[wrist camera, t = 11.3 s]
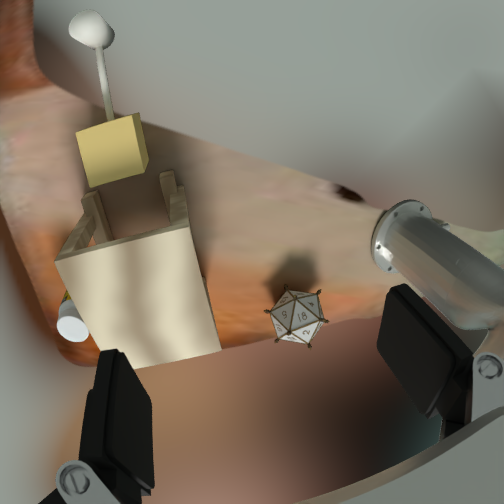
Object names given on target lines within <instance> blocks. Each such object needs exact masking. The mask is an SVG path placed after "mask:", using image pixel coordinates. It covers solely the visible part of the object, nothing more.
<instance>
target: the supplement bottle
mask: <svg viewBox="0 0 504 504" xmlns="http://www.w3.org/2000/svg"><path fill="white" fill-rule="evenodd" d="M57 328H58V331H59V333H60V334H61V335H62V336H63V337H64V338H66V339H67V340H70V341H73V342H81V341H84V340H85V339H86V338H87V337H88V335H89V330H88V328H87V327H86V325H85V323H84V321H83V319H82V317H81V316H80V314H79V312H78V310H77V308H76V306H75V304H74V302H73V300H72V299H71V297H70V295H69V293H68V291H67V290H66V292H65V295H64V297H63V300H62V303H61V305H60V308H59V318H58V322H57Z"/></svg>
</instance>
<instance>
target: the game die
mask: <svg viewBox="0 0 504 504" xmlns="http://www.w3.org/2000/svg"><path fill="white" fill-rule="evenodd" d="M284 288H285V290H286V292H285V293H284V294H283V295H282V297H281V298H280V299H279V300H278V302H277V303H276V304H275V305H274V307H273V308H272V309H271V310H270V311H269V310H267V309H266V310H264V312H265V313H267V314H268V313H270V316H271V319H272V322H273V325H274V328H275V331H276V334H277V337H278V338H277V339H276V340H275V343H277V342H278V341H279V340H286V341H291V342H297V343H303V344H307V345H308V348H310V349H311V347H312V346H311V345H310V342H311V340H312V339H313V338H314V336H315V335H316V333H317V332H318V330H319V329H320V327H321V326H322V324H323V323H324V322H325V323H328V322H329V321H328V320H325V319H324V316H323V312H322V309H321V305H320V301H319V297H318V294H320V293H321V289H320V290H318V291H317V293H308V292H301V291H293V290H288V286H286V285H285V286H284Z"/></svg>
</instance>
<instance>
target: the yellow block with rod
mask: <svg viewBox="0 0 504 504" xmlns="http://www.w3.org/2000/svg"><path fill="white" fill-rule="evenodd" d="M69 33H70V35H71V37H73V38H74V39H76V40H78V41H79V42H81V43H83V44H85V45H86V46H88V47H90V48H92V49H93V50H95V52H96V60H97V66H98V73H99V78H100V85H101V90H102V96H103V101H104V106H105V112H106V116H107V122H104V123H101V124H98V125H95V126H92V127H89V128H86V129H84V130H81V131H79V132H76V137H77V141H78V145H79V149H80V153H81V157H82V161H83V165H84V168H85V172H86V176H87V179H88V183H89V186H90V188H92V187H95V186H98V185H102V184H105V183H108V182H112V181H115V180H119V179H122V178H126V177H130V176H133V175H137V174H141V173H144V172H145V170H146V167H147V164H148V162H149V157H148V153H147V148H146V144H145V139H144V134H143V130H142V125H141V120H140V115H139V113H135V114H131V115H128V116H124V117H121V118H117V119H115V117H114V112H113V107H112V102H111V96H110V91H109V85H108V79H107V73H106V67H105V60H104V54H103V50H104V49H106V48H108V47H109V46H110V45H111V43H112V42H113V40H114V37H115V34H114V31H113V29H112V28H111V27H110V26H109V25H108V23H107V22H106V21H105V20H104V19H103V18H102V17H101V16H100V15H99V14H98V12H96V11H94V10H84V11H81V12H80V13H78V14H77V15H75V16H74V17H73V19H72V20H71V22H70V25H69Z"/></svg>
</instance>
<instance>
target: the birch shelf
mask: <svg viewBox="0 0 504 504" xmlns="http://www.w3.org/2000/svg"><path fill="white" fill-rule="evenodd" d="M159 180H160V184H161V188H162V193H163V197H164V201H165V205H166V209H167V213H168V217H169V221H170V226H169V227H165V228H161V229H157V230H153V231H149V232H145V233H141V234H137V235H133V236H129V237H125V238H121V239H117V240H114V239H113V236H112V233H111V230H110V227H109V224H108V221H107V218H106V215H105V212H104V208H103V205H102V202H101V199H100V195H99V192H98V190H96V191H92V192H89V193H86V194H85V196H84V197H83V198H82V199H81V202H82V206H83V209H84V212H85V213H84V214H83V216H82V217H81V219H80V220H79V222H78V223H77V225H76V226H75V228H74V229H73V231H72V233H71V234H70V236H69V237H68V239H67V241H66V242H65V244H64V246H63V247H62V249H61V251H60V252H59V254H58V256H57V257H56V259H55V261H54V263H55V265H56V267H57V270H58V272H59V274H60V276H61V278H62V280H63V282H64V284H65V286H66V289H67V291H68V293H69V295H70V297H71V299H72V300H73V302H74V304H75V306H76V308H77V310H78V312H79V314H80V316H81V317H82V319H83V321H84V323H85V325H86V327H87V328H88V330H89V332H90V334H91V335H92V337H93V339H94V340H95V342H96V344H97V345H98V347H99V349H100V350H101V351H102V350H110V349H118V350H119V351H120V352H124V353H125V355H126V357H127V359H128V360H129V362H130V364H131V366H132V368H133V369H136V368H142V367H147V366H152V365H158V364H163V363H168V362H173V361H178V360H182V359H187V358H192V357H196V356H201V355H205V354H209V353H214V352H218V351H222V349H221V345H220V341H219V337H218V332H217V328H216V324H215V320H214V315H213V311H212V307H211V302H210V298H209V293H208V289H207V284H206V280H205V277H202V276H201V272H200V268H199V264H198V260H197V256H196V252H195V248H194V244H193V240H192V234H191V228H190V221H189V215H188V208H187V202H186V196H185V191H184V186H183V185H181V186H177V185H176V181H175V176H174V172H173V170H170V171H166V172H162V173H160V176H159ZM92 235H93V238H94V240H95V243H96V245H95V246H91V247H87V246H88V244H89V241H90V239H91V237H92Z"/></svg>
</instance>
